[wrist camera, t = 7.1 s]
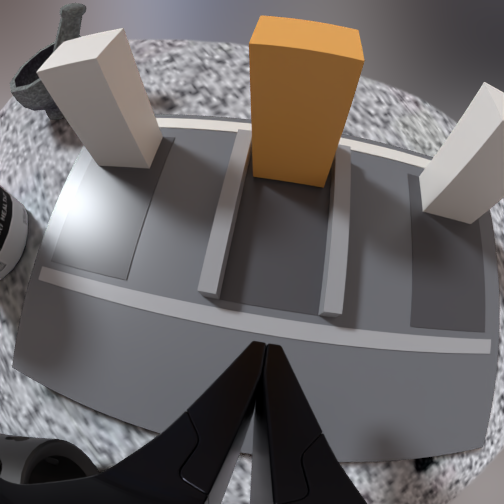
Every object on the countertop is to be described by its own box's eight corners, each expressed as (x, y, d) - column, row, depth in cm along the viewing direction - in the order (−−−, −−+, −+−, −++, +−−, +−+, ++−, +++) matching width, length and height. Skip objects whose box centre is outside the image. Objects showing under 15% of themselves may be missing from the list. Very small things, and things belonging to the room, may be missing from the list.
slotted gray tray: (464, 441, 15) (583, 466, 3) (32, 368, 18) (-96, 350, 6) (468, 188, 22) (544, 103, 10) (110, 132, 25) (56, 30, 13)
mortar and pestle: (32, 144, 25) (-23, 74, 14) (39, 99, 28) (0, 37, 17) (118, 99, 27) (79, 9, 15) (113, 61, 30) (85, -12, 18)
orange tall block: (323, 187, 19) (364, 60, 9) (252, 176, 19) (248, 43, 10) (325, 152, 20) (358, 30, 10) (260, 142, 20) (260, 15, 11)
